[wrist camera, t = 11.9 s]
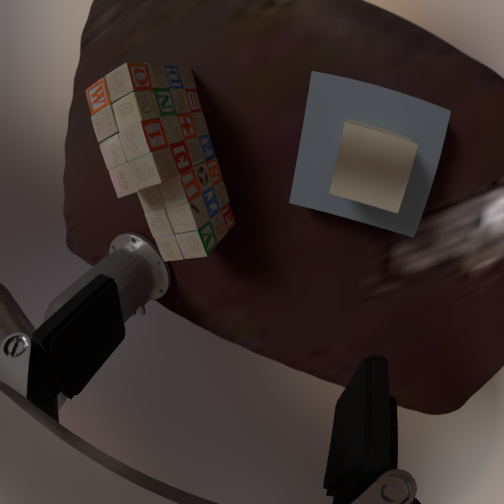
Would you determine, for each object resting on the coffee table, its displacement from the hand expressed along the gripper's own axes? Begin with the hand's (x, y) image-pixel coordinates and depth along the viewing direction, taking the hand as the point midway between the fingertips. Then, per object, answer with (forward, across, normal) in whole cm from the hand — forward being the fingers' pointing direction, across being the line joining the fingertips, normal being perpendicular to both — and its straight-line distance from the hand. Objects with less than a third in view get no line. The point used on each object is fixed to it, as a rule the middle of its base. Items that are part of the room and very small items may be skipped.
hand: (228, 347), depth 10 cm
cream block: (+23, -6, -4) cm, 24 cm away
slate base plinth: (+27, -6, -5) cm, 28 cm away
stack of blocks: (+28, +15, 0) cm, 31 cm away
